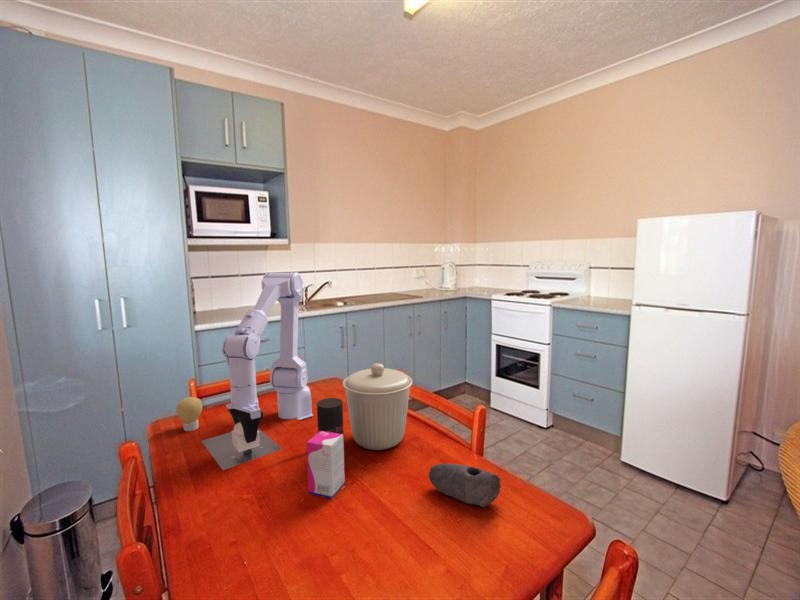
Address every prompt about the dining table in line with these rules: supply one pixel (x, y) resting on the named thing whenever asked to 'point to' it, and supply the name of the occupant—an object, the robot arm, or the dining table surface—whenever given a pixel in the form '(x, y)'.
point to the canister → (377, 406)
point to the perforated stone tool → (465, 483)
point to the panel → (230, 456)
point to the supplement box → (325, 464)
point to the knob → (242, 439)
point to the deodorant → (330, 415)
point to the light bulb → (189, 412)
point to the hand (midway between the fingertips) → (246, 437)
